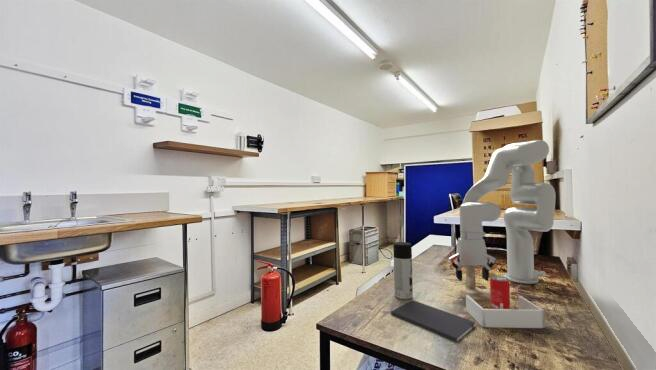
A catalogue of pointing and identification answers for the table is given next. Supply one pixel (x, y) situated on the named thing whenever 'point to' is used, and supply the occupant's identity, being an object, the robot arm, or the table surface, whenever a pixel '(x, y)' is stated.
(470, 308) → the box
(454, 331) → the notebook
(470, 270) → the wooden block structure
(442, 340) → the table surface
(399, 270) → the spray can
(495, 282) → the beverage can
